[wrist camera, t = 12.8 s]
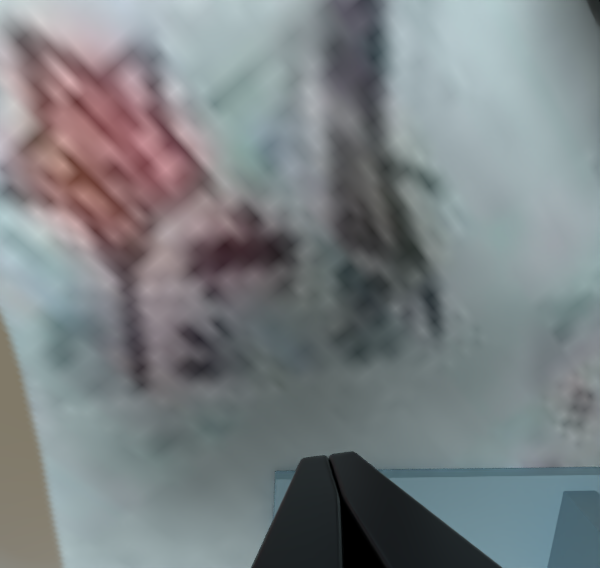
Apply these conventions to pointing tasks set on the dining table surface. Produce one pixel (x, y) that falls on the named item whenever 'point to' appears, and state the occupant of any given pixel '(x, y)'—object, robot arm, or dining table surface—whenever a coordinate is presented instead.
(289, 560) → the robot arm
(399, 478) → the lid
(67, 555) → the dining table surface
